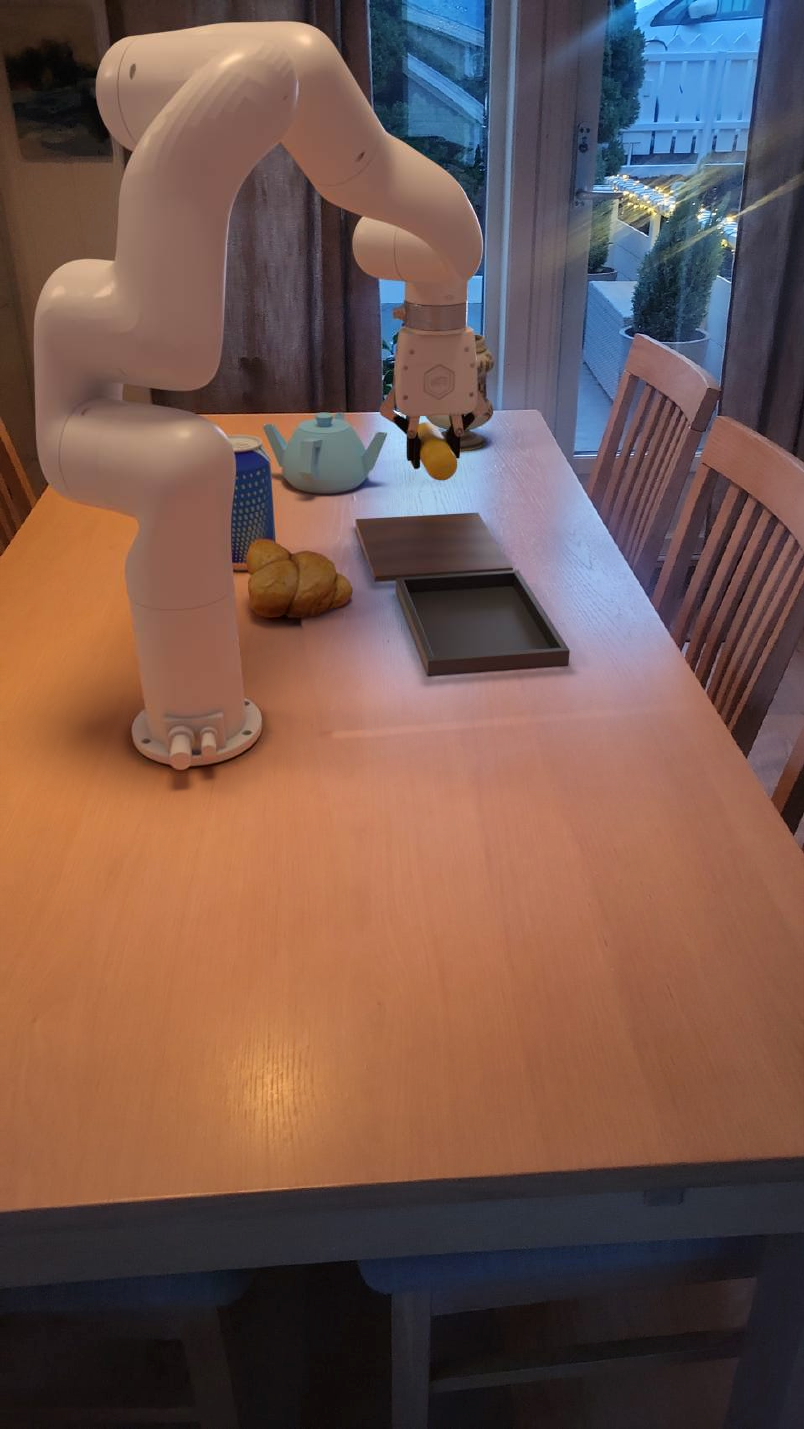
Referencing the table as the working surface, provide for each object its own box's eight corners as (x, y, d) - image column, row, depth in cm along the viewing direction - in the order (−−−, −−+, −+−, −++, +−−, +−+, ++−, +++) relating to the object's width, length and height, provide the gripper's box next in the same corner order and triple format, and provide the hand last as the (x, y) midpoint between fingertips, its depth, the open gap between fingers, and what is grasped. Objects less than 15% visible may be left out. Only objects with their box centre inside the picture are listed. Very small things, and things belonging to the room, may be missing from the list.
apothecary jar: (417, 434, 186) (419, 330, 177) (482, 431, 188) (486, 328, 179) (431, 454, 176) (433, 346, 167) (499, 451, 178) (505, 343, 169)
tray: (567, 671, 112) (570, 650, 111) (427, 682, 110) (428, 661, 109) (517, 588, 130) (518, 569, 129) (395, 596, 128) (396, 577, 127)
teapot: (261, 475, 167) (257, 409, 161) (343, 460, 173) (341, 396, 168) (305, 504, 156) (301, 433, 150) (389, 487, 162) (389, 418, 157)
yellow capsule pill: (459, 484, 127) (461, 452, 125) (428, 486, 127) (428, 454, 125) (437, 447, 140) (437, 417, 138) (408, 448, 139) (408, 419, 137)
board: (512, 578, 133) (513, 567, 132) (374, 587, 130) (374, 576, 130) (477, 522, 150) (478, 512, 149) (355, 528, 147) (355, 519, 146)
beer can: (217, 576, 133) (205, 454, 125) (210, 551, 140) (198, 434, 131) (281, 569, 135) (274, 449, 126) (271, 545, 142) (263, 430, 133)
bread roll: (355, 593, 129) (353, 533, 125) (349, 628, 121) (347, 565, 116) (252, 591, 129) (248, 531, 125) (240, 626, 121) (234, 563, 117)
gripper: (371, 325, 119) (373, 477, 129) (511, 321, 122) (502, 471, 131) (362, 312, 126) (365, 459, 135) (496, 308, 128) (489, 453, 138)
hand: (432, 463), depth 133 cm, fingers closed on yellow capsule pill, 4 cm apart
